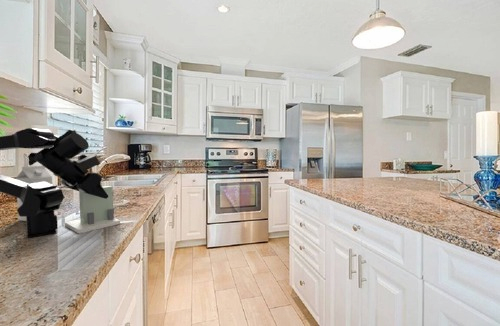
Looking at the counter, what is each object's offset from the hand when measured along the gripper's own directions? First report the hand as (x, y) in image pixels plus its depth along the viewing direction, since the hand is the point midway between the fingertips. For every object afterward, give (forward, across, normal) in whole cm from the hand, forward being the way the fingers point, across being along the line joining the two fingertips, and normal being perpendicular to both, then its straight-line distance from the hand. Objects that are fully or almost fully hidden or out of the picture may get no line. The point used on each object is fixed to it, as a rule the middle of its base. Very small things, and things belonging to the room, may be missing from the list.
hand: (101, 195), depth 83 cm
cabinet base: (+4, 0, +9) cm, 10 cm away
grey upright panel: (+5, 0, +7) cm, 8 cm away
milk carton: (-2, +24, +16) cm, 29 cm away
